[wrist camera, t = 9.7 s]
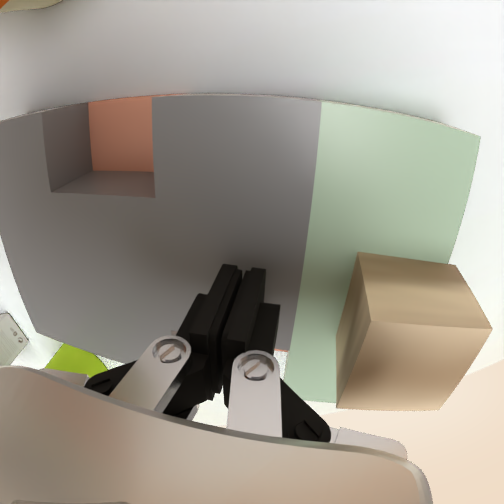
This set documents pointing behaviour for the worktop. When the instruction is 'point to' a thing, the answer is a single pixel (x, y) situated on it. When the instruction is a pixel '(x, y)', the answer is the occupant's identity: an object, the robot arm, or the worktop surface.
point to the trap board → (219, 212)
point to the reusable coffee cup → (25, 4)
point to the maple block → (405, 334)
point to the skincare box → (10, 340)
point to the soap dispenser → (76, 361)
